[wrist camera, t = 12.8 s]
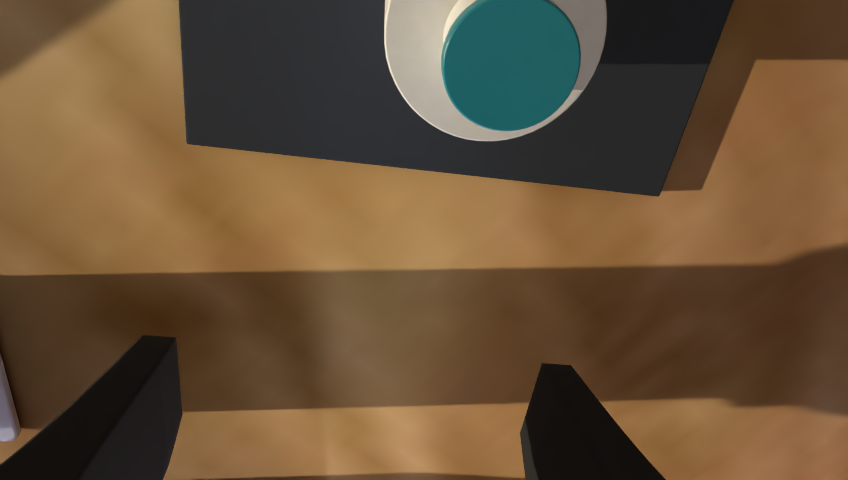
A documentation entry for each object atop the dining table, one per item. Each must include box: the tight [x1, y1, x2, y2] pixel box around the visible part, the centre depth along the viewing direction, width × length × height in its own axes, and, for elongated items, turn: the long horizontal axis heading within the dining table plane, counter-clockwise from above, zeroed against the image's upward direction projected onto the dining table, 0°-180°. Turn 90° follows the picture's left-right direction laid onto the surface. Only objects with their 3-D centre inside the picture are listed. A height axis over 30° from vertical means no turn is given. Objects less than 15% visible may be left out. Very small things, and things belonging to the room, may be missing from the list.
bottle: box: [384, 0, 607, 141], centre depth 15 cm, size 5×5×8 cm
